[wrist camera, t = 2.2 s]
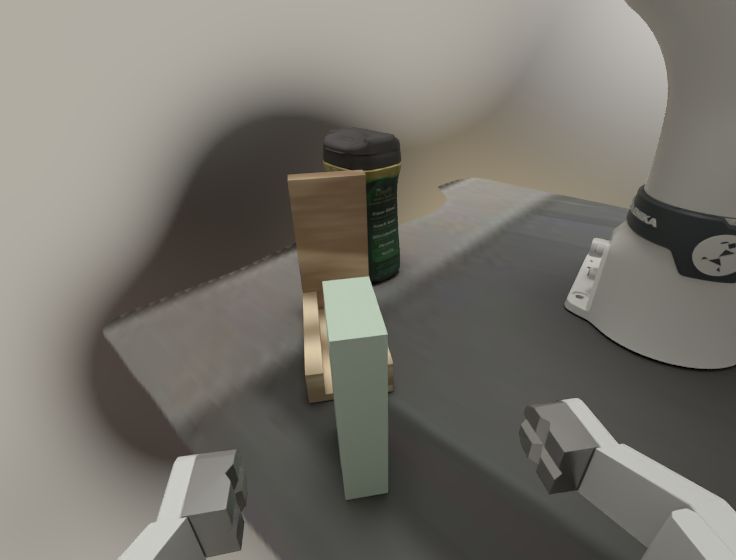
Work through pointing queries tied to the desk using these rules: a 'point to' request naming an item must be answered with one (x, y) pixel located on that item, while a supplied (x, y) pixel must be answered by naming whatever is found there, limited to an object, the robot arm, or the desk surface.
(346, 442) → the mint green rectangular block
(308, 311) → the track
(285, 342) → the desk surface
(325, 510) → the desk surface
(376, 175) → the coffee jar
